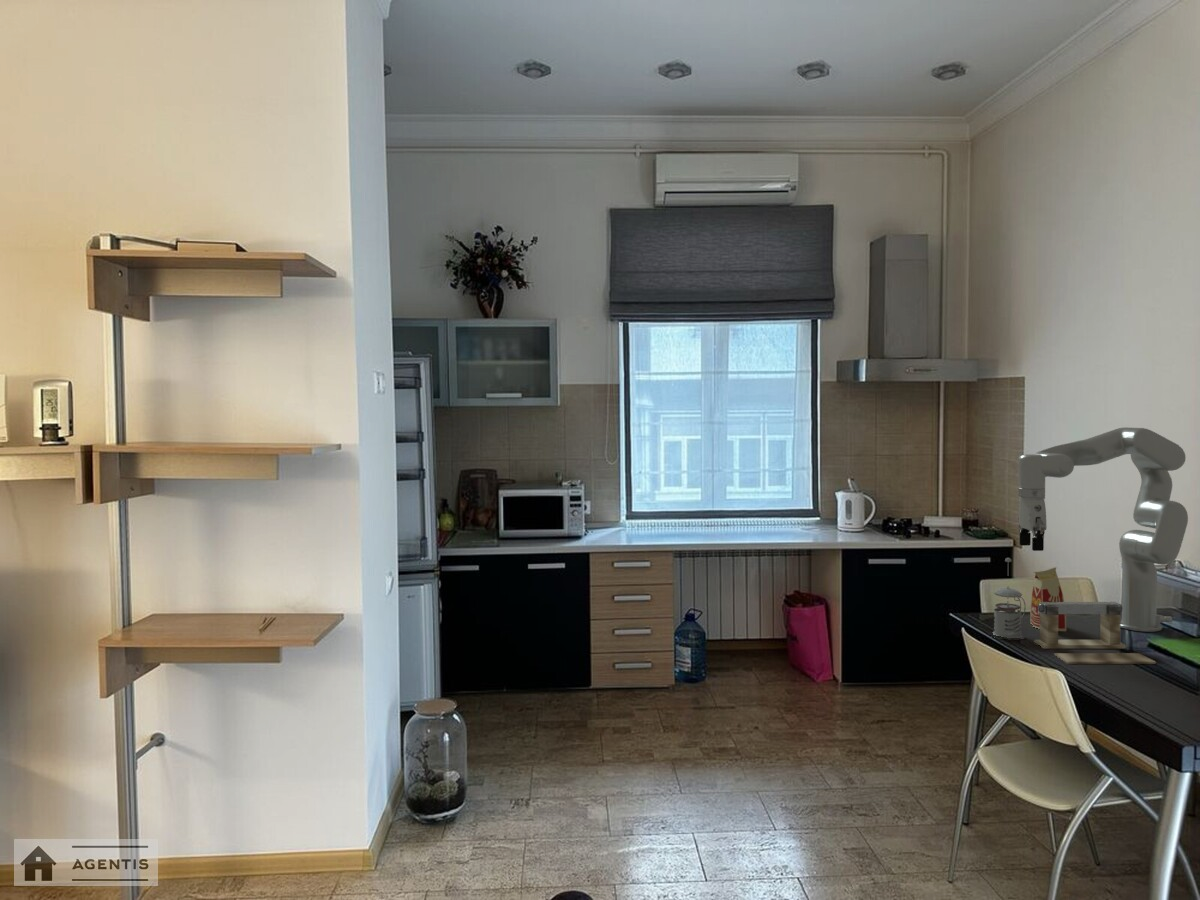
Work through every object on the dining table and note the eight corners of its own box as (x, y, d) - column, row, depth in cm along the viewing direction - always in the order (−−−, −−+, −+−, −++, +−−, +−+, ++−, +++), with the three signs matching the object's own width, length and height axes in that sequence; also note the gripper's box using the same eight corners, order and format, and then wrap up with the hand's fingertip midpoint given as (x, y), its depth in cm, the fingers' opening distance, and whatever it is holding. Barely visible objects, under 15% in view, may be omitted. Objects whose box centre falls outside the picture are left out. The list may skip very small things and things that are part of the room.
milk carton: (1055, 624, 283) (1056, 564, 282) (1067, 631, 274) (1068, 569, 273) (1026, 623, 284) (1027, 564, 283) (1038, 631, 274) (1038, 569, 273)
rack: (1114, 642, 260) (1115, 602, 259) (1125, 648, 254) (1126, 606, 253) (1034, 642, 261) (1034, 602, 261) (1043, 648, 255) (1043, 607, 255)
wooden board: (1139, 655, 247) (1139, 653, 247) (1155, 663, 239) (1155, 661, 239) (1054, 655, 248) (1054, 653, 248) (1067, 663, 240) (1067, 661, 240)
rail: (1117, 611, 258) (1117, 601, 258) (1122, 614, 255) (1123, 604, 255) (1037, 611, 259) (1037, 602, 259) (1041, 614, 256) (1041, 604, 256)
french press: (983, 634, 272) (984, 556, 270) (1010, 629, 276) (1010, 553, 275) (1009, 642, 263) (1009, 561, 261) (1036, 637, 267) (1037, 558, 266)
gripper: (1056, 496, 259) (1055, 552, 260) (1032, 490, 276) (1032, 543, 277) (1030, 497, 259) (1030, 552, 260) (1008, 491, 277) (1008, 543, 278)
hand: (1031, 547), depth 269 cm, fingers open, 9 cm apart
